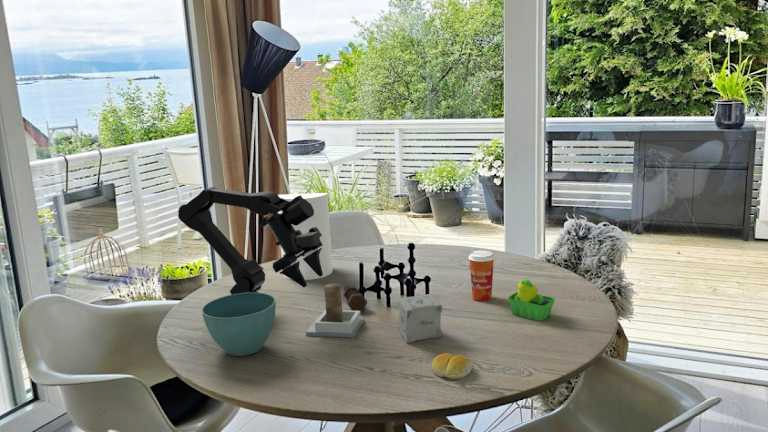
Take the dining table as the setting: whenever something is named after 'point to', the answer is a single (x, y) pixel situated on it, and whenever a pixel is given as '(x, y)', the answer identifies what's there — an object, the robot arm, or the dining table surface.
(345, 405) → the dining table surface
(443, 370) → the bread roll
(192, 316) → the dining table surface
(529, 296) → the fruit basket
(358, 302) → the bolt
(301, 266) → the cylinder
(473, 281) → the paper cup
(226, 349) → the teal bowl
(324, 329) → the white tray
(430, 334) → the light grey box
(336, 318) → the walnut cylinder
